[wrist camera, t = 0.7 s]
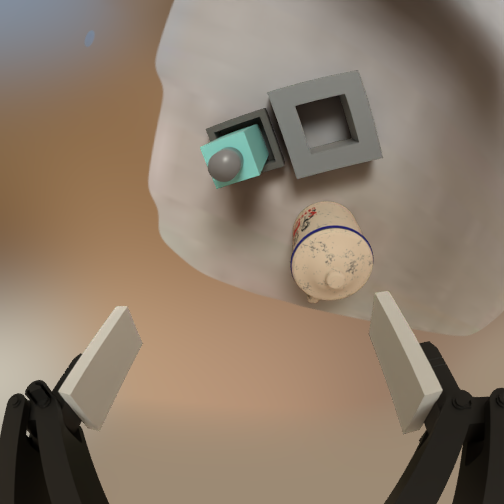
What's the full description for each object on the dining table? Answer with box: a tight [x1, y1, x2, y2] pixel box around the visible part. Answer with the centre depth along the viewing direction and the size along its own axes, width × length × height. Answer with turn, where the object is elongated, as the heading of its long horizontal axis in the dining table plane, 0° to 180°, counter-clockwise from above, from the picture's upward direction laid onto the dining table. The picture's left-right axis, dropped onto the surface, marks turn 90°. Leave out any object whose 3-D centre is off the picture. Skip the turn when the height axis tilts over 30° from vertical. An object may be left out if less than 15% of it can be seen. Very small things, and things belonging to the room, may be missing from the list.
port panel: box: [267, 70, 383, 179], centre depth 28 cm, size 10×10×4 cm
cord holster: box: [206, 108, 285, 173], centre depth 32 cm, size 7×7×2 cm
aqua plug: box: [200, 124, 269, 189], centre depth 27 cm, size 4×4×14 cm
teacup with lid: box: [291, 202, 373, 303], centre depth 33 cm, size 12×9×12 cm
